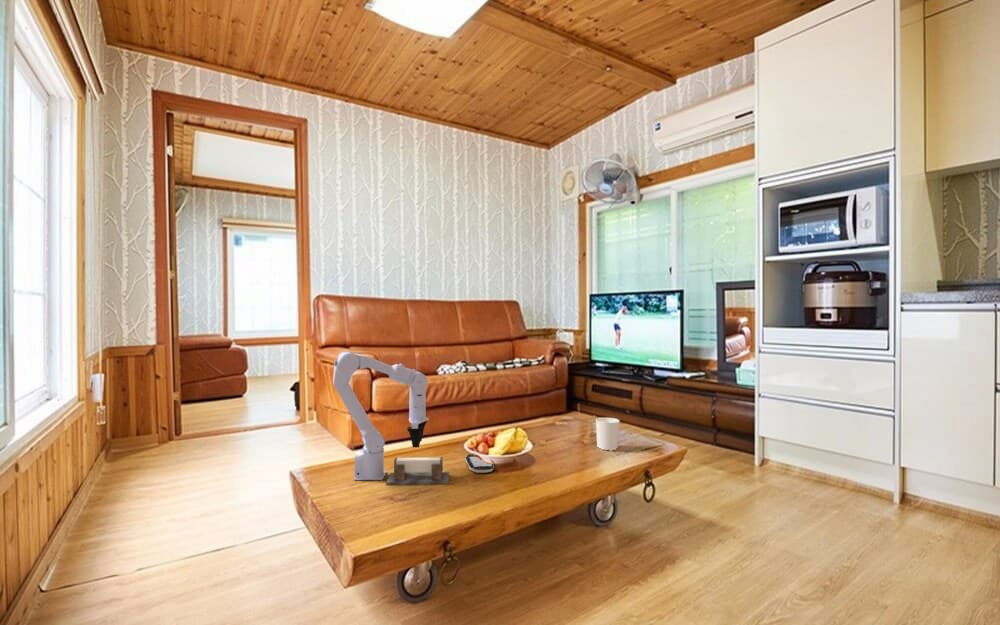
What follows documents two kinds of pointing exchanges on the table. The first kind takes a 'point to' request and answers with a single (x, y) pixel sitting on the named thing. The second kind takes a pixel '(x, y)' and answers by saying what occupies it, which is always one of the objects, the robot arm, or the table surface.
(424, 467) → the rail
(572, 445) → the table surface
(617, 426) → the white cylinder
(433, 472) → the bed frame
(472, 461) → the gaming console
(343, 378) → the robot arm
